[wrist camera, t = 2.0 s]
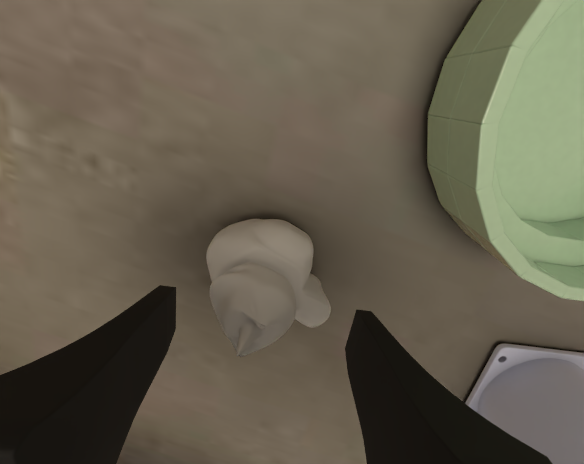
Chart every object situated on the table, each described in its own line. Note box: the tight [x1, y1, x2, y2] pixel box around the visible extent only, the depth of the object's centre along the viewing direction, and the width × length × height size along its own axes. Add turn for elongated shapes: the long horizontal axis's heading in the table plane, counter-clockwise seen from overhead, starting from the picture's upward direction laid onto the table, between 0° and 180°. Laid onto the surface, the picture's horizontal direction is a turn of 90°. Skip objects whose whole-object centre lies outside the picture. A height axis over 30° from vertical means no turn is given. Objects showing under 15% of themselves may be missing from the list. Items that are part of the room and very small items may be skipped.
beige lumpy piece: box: [206, 219, 331, 357], centre depth 14 cm, size 5×7×8 cm
